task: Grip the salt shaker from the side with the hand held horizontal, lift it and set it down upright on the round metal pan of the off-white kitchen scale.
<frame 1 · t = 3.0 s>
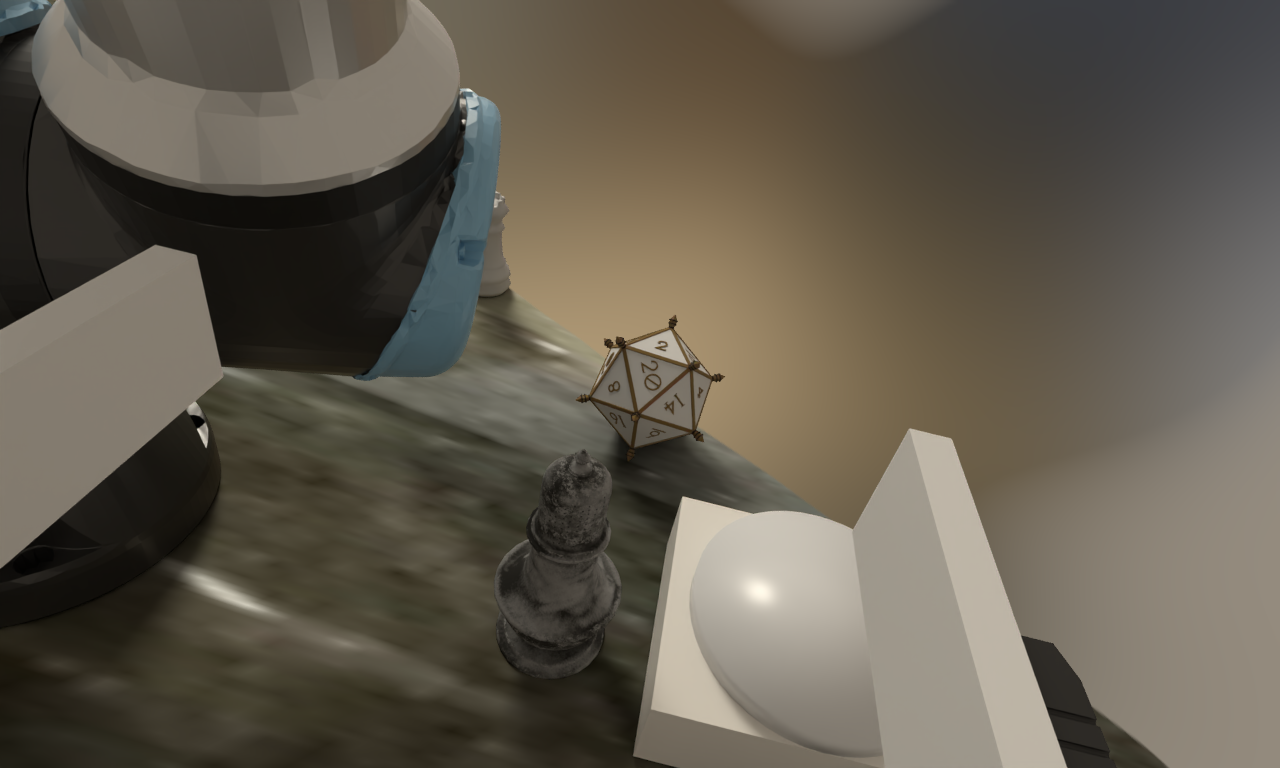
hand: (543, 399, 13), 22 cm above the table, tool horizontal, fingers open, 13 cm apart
rook chess piece: (483, 287, 58), on the table
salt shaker: (550, 630, 33), on the table
game die: (639, 436, 46), on the table
kitchen scale: (788, 669, 34), on the table
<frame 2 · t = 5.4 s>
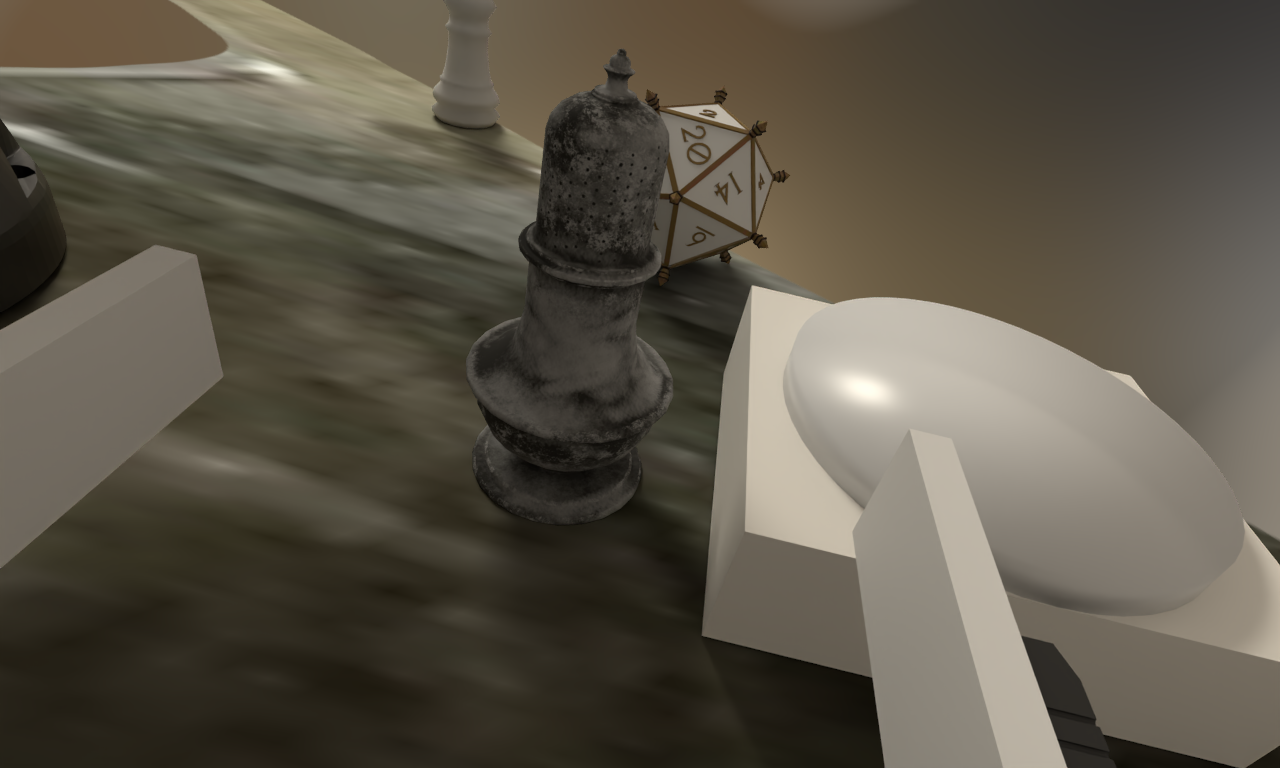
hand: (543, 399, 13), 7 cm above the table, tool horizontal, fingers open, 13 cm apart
rook chess piece: (465, 122, 46), on the table
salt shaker: (557, 464, 21), on the table
game die: (673, 264, 34), on the table
kitchen scale: (925, 526, 22), on the table
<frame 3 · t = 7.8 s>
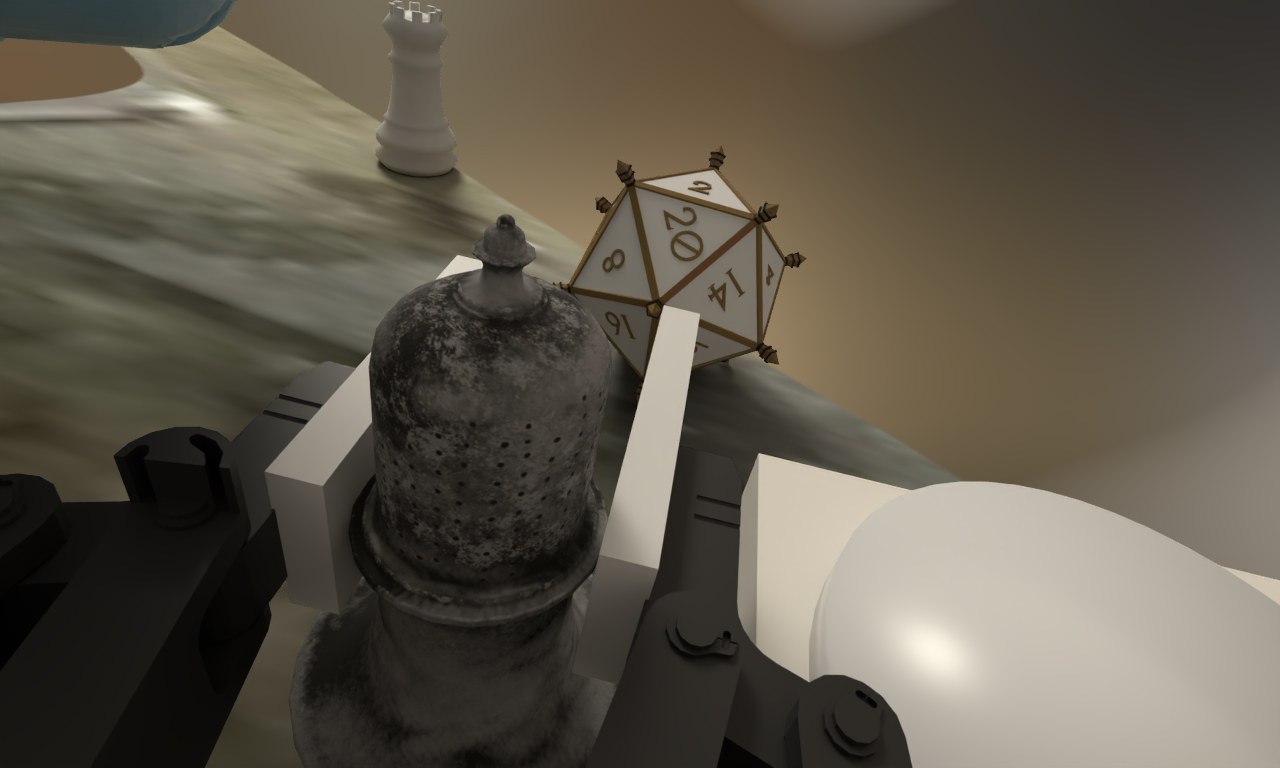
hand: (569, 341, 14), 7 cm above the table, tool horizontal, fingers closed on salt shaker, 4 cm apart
rook chess piece: (417, 167, 39), on the table
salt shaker: (467, 758, 14), on the table, touching gripper
game die: (657, 367, 27), on the table
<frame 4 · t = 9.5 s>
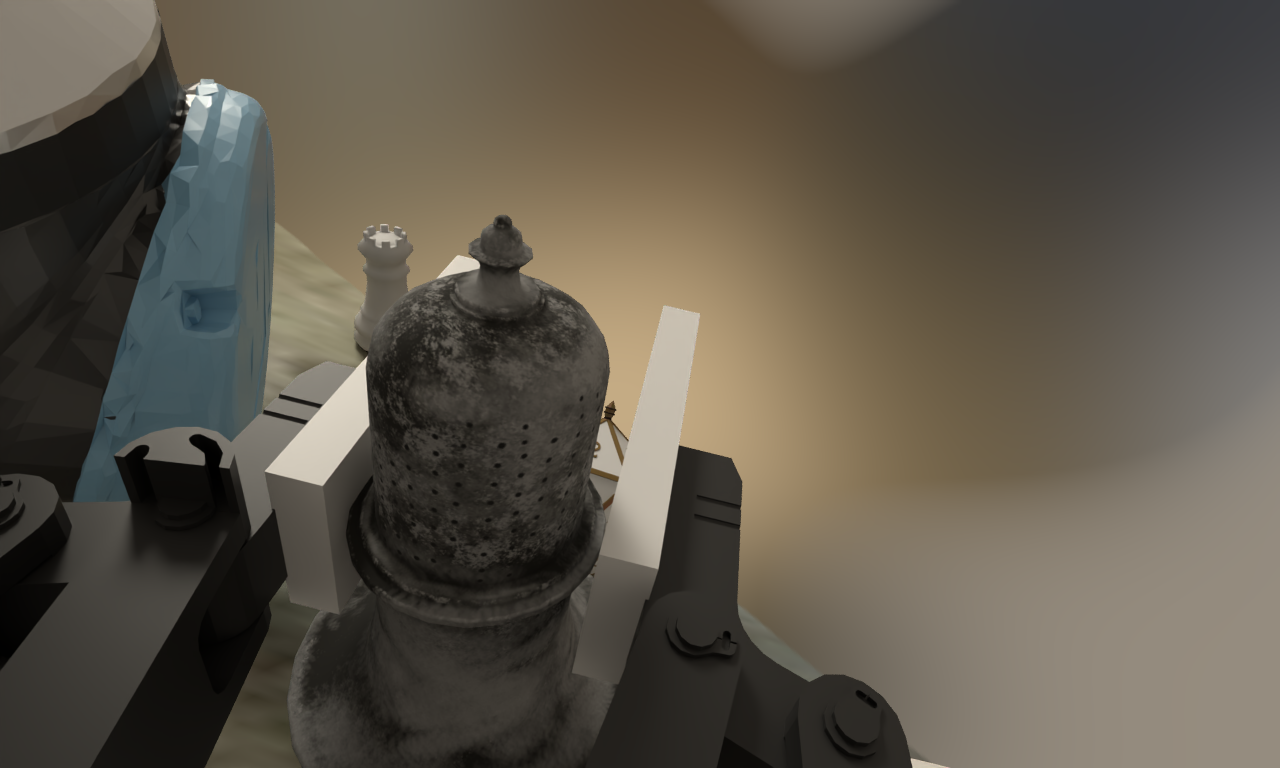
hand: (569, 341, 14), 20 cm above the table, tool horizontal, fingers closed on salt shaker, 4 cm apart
rook chess piece: (389, 342, 47), on the table
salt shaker: (465, 758, 14), point 13 cm above the table, touching gripper
game die: (571, 554, 35), on the table
when the fingers open (13 cm above the table, at t = 11.5 s): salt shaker drops 1 cm, resting on kitchen scale.
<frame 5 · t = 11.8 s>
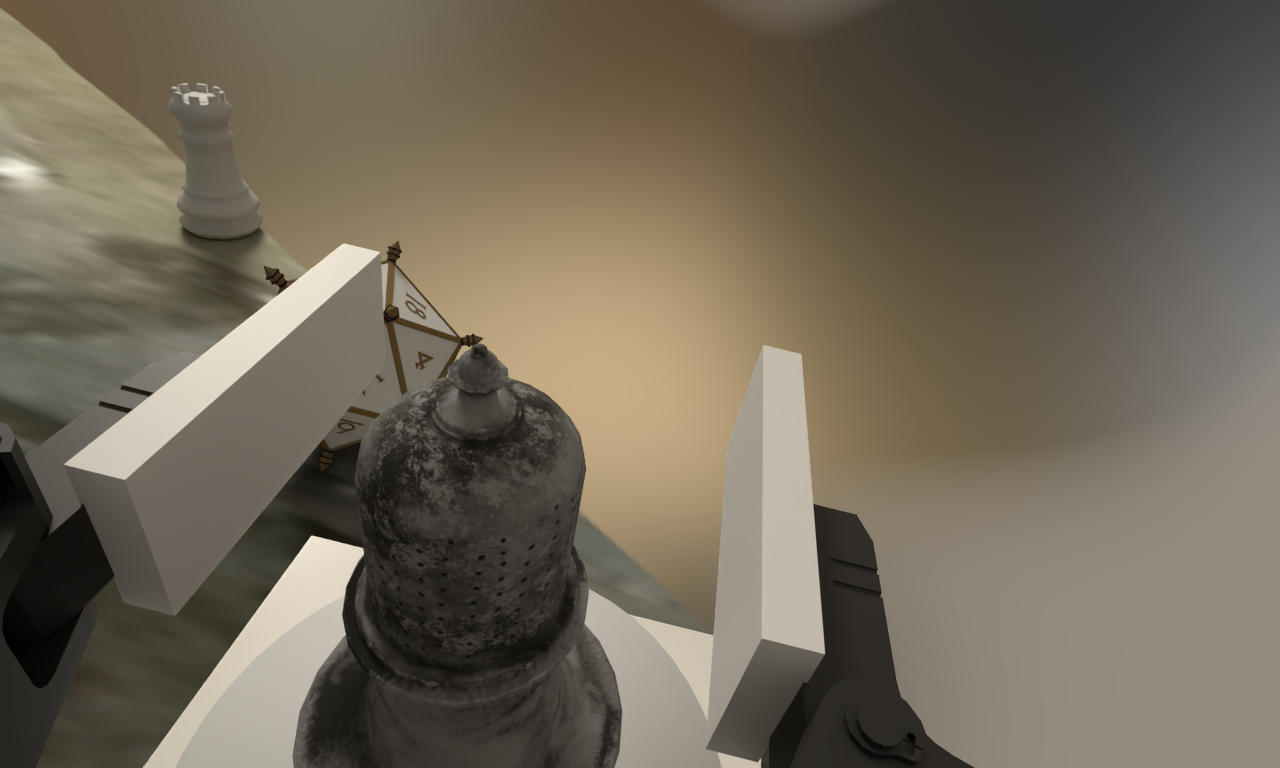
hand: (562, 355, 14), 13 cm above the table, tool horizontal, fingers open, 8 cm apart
rook chess piece: (224, 228, 42), on the table
game die: (365, 431, 30), on the table
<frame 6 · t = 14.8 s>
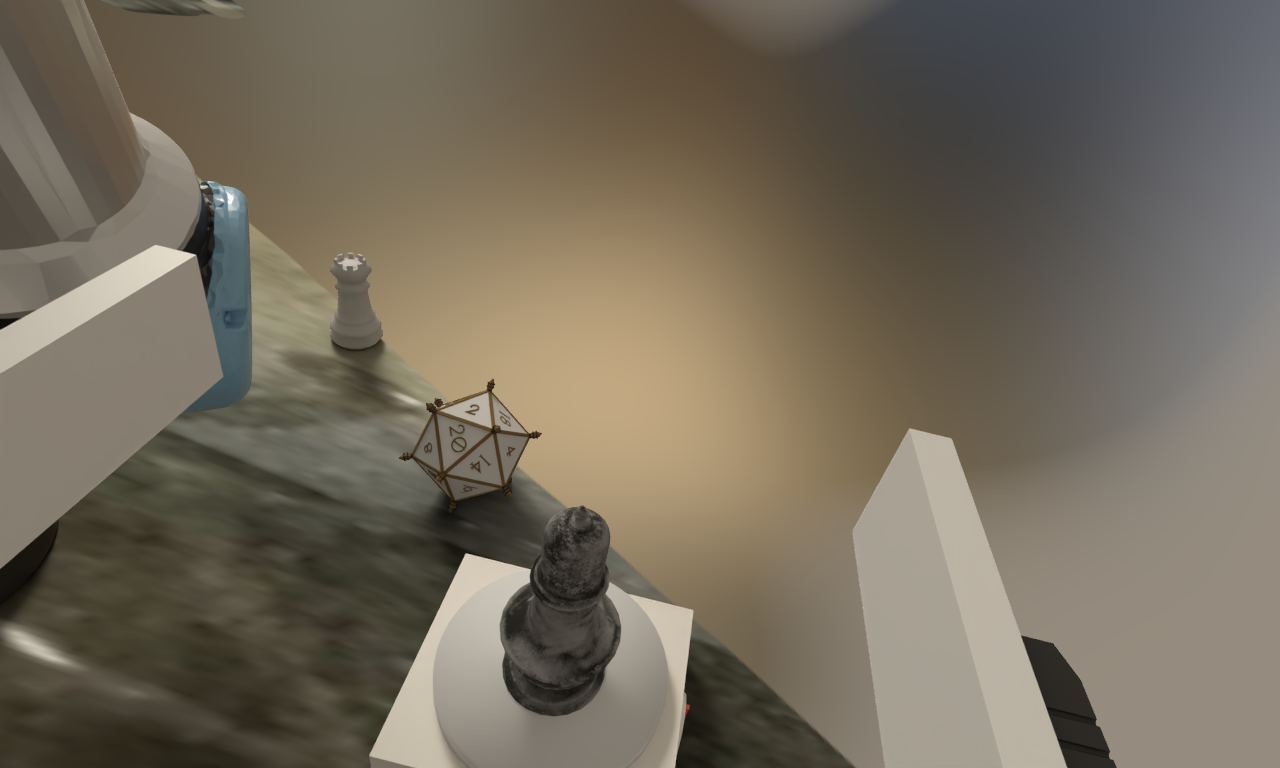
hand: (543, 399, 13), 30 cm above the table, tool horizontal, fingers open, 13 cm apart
rook chess piece: (357, 339, 62), on the table
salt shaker: (554, 667, 35), point 5 cm above the table, touching kitchen scale
game die: (470, 486, 50), on the table
kitchen scale: (545, 711, 38), on the table
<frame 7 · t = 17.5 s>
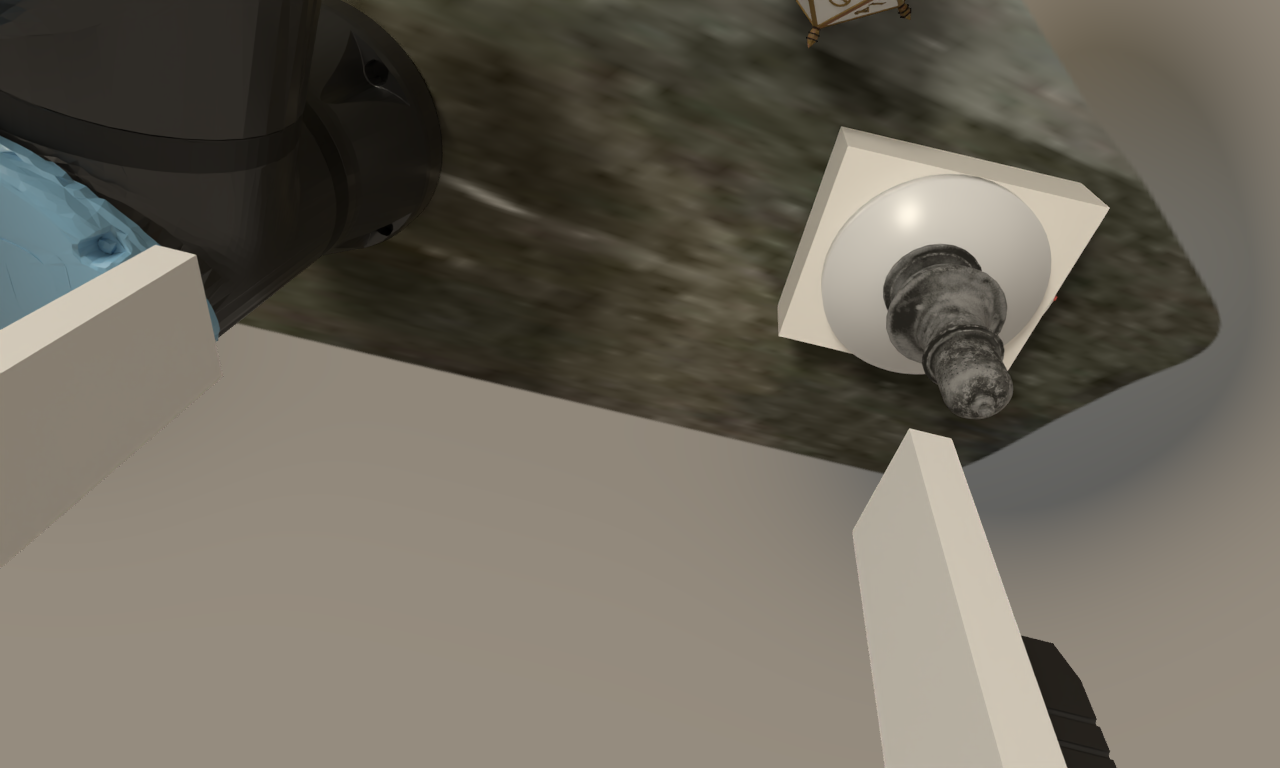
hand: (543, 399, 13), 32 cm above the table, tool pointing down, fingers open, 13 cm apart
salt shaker: (931, 286, 38), point 5 cm above the table, touching kitchen scale
kitchen scale: (916, 249, 42), on the table
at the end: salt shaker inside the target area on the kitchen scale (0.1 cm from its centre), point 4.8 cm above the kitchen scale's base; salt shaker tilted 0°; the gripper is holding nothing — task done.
